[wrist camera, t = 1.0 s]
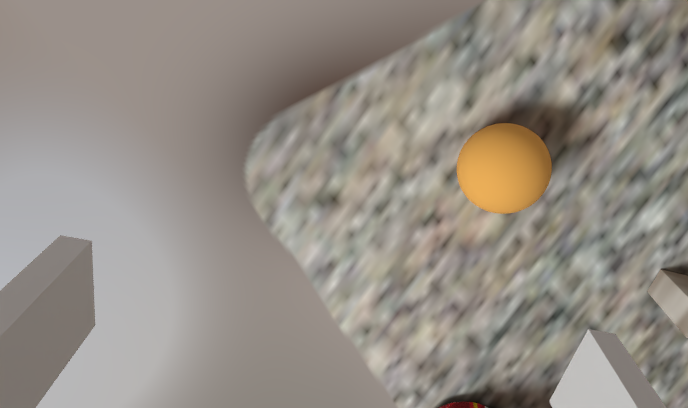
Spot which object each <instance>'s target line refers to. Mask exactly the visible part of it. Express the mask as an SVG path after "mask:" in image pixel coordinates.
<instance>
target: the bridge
mask: <svg viewBox="0 0 688 408" xmlns="http://www.w3.org/2000/svg"><path fill="white" fill-rule="evenodd" d="M647 292H648V293H649V294H650V295H651V297H652V298H653V299H654V300H655V301H656V302H657V304H658V305H659V306H660V307H661V308H662V309H663V311H664V312H665V313H666V314H667V315H668V316H669V318H670V319H671V320H672V321H673V322H674V323H675V325H676V326H677V327H678V328H679V329H680V330H681V331H682V333H683V334H684V335H685V336H686V337H687V338H688V276H687V275H683V274H678V273H674V272H670V271H666V270H662V269H661V270H660V271H659V273H658V274H657V276H656V278H655V279H654V281H653V283H652V284H651V286H650V288H649V289H648V291H647Z"/></svg>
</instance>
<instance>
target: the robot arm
mask: <svg viewBox="0 0 688 408" xmlns="http://www.w3.org/2000/svg"><path fill="white" fill-rule="evenodd" d="M94 326H95V309H94V286H93V264H92V242H91V241H89V240H83V239H78V238H72V237H66V236H60V237H58V238H57V239H56V240H55V241H54V242H53V243H52V244H51V245H49V246H48V247H47V248H46V249H45V250H44V251H43V252H42V253H41V254H40V255H39V256H38V257H37V258H35V259H34V260H33V261H32V262H31V263H30V264H29V265H28V266H27V267H26V268H25V269H23V270H22V271H21V272H20V273H19V274H18V275H17V276H16V277H15V278H14V279H13V280H12V281H11V282H9V283H8V284H7V285H6V286H5V287H4V288H3V289H2V290H1V291H0V408H36V406H37V405H38V403H39V402H40V401H41V399H42V398H43V397H44V395H45V394H46V392H47V391H48V390H49V388H50V387H51V385H52V384H53V383H54V381H55V380H56V379H57V377H58V376H59V374H60V373H61V372H62V370H63V369H64V367H65V366H66V365H67V363H68V362H69V361H70V359H71V358H72V356H73V355H74V354H75V352H76V351H77V350H78V348H79V346H80V345H81V344H82V343H83V341H84V340H85V338H86V337H87V336H88V334H89V333H90V331H91V330H92V329H93V327H94ZM550 404H551V406H552V408H666V406H665V405H664V404H663V402H662V401H661V399H660V398H659V396H658V395H657V393H656V392H655V391H654V389H653V388H652V386H651V385H650V383H649V382H648V380H647V379H646V377H645V376H644V375H643V373H642V372H641V370H640V369H639V367H638V366H637V364H636V363H635V362H634V360H633V359H632V357H631V356H630V354H629V353H628V351H627V350H626V348H625V347H624V346H623V344H622V343H621V341H620V340H619V338H618V337H617V335H616V334H613V333H607V332H602V331H596V330H590V329H588V331H587V333H586V335H585V336H584V338H583V340H582V342H581V344H580V346H579V347H578V349H577V351H576V353H575V355H574V357H573V358H572V360H571V362H570V364H569V366H568V368H567V369H566V371H565V373H564V375H563V377H562V379H561V380H560V382H559V384H558V386H557V388H556V390H555V391H554V393H553V395H552V397H551V399H550Z"/></svg>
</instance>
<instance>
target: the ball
mask: <svg viewBox="0 0 688 408" xmlns="http://www.w3.org/2000/svg"><path fill="white" fill-rule="evenodd" d="M551 171H552V162H551V157H550V154H549V151H548V149H547V147H546V145H545V143H544V142H543V141H542V140H541V138H540V137H539V136H538V135H537V134H535V133H534V132H533V131H531V130H530V129H528V128H526V127H524V126H520V125H517V124H512V123H499V124H494V125H490V126H487V127H485V128H483V129H481V130H479V131H478V132H476V133H475V134H474V135H472V136H471V137H470V138H469V139H468V141H467V142H466V143H465V144H464V146H463V148H462V149H461V152H460V154H459V157H458V162H457V177H458V181H459V185H460V187H461V189H462V191H463V192H464V194H465V195H466V197H467V198H468V199H469V200H470V201H471V202H472V203H474V204H475V205H476V206H478V207H479V208H482V209H484V210H486V211H489V212H493V213H501V214H505V213H514V212H517V211H521V210H523V209H525V208H527V207H529V206H531V205H532V204H533V203H535V202H536V201H537V200H538V199H539V198H540V197H541V196H542V194H543V193H544V191H545V190H546V188H547V186H548V184H549V181H550V178H551Z"/></svg>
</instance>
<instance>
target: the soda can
mask: <svg viewBox="0 0 688 408" xmlns="http://www.w3.org/2000/svg"><path fill="white" fill-rule="evenodd" d="M439 408H488V407H486V406H484V405H481V404H478V403H474V402H453V403H449V404H446V405H444V406H441V407H439Z"/></svg>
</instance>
